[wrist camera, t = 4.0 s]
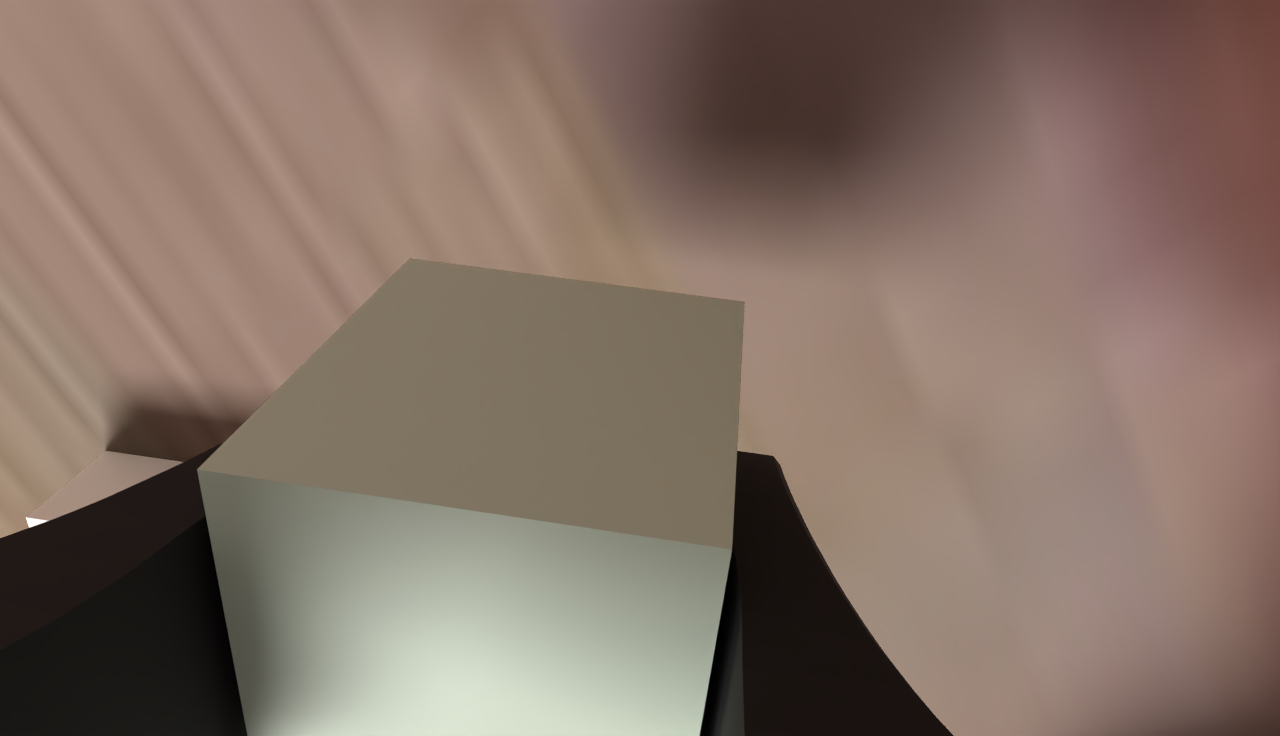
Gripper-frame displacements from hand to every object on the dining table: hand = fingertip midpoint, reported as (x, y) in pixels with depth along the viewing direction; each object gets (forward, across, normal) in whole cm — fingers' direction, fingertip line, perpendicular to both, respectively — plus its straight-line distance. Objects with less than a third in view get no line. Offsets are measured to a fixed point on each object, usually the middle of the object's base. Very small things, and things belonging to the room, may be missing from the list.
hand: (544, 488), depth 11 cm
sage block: (+2, 0, 0) cm, 2 cm away
